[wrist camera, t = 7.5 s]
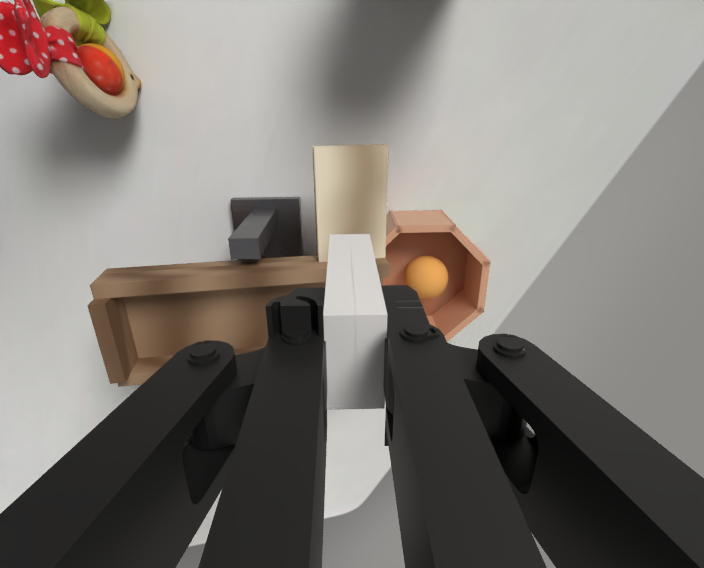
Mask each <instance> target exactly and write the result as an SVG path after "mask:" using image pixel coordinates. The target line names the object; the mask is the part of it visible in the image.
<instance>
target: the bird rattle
mask: <svg viewBox="0 0 704 568" xmlns="http://www.w3.org/2000/svg"><path fill="white" fill-rule="evenodd" d="M14 1H15V4H14V5H13V4H11V3H10V2H8V1H6V0H3V1H2V2H0V67H1V68H2V69H3V70H4V71H5V72H7V73H8V74H16V75H26V74H28V73H30V72H32V71H34V73H35V74H36V75H37V76H38V77H40V78H45V77H47V76H48V74H49V73H51V74H54V76H55V77H56V78H57V80H58V81H59V82H60V83H61V85H62V86H63V87H64V88H65V89H66V90H67V92H68V93H69V94H70V95H71V96H73V97H74V98H75V99H76V100H77V101H78V102H79V103H81V104H82V105H83V106H84V107H86V108H87V109H89V110H90V111H92V112H94V113H96V114H97V115H100V116H102V117H105V118H110V119H117V118H121V117H124V116H126V115H128V114H130V113H131V112H132V111H133V109H134V108H135V106H136V104H137V99H138V89H139V88H140V87H141V82H140V80H139V79H138V77H137V76H136V75H135V74H134V73H133V71H132V69H131V68H130V66H129V64H128V62H127V60H126V59H125V57H124V55H123V54H122V52H121V51H120V50H119V48H118V47H117V46H116V44H115V43H114V42H113V40H112V39H111V38H110V37H109V36H108V34H107V33H106V32H105V31H104V29H103V27H102V26H101V25H105V24H107V23H109V21H110V18H111V11H110V8H109V7H108V5H107V4H106V3H105V1H104V0H65V4H63V3H58V2H55V1H52V0H33V2H34V5H35V8H36V10H37V12H38V15H39V17H40V20H39V19H38V17H37V15H36V13H35V10H34V8H33V6H32V4H31V2H30V0H14Z"/></svg>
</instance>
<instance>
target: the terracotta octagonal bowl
mask: <svg viewBox="0 0 704 568" xmlns="http://www.w3.org/2000/svg"><path fill="white" fill-rule="evenodd" d="M420 256H433V257H435V258H437V259H439V260H440V261H441V262H442V263H443V264H444V265H445V267H446V269H447V272H448V283H447V286H446V288H445V290H444V291H443V292H442V293H441V294H440V295H439V296H437V297H435V298H432V299H420V301H421V303H422V306H423V308H424V311H425V313H426V316H427V318H428V321H429V323H430V325H433V326H435V327H436V328H438V329H440V331H441V332H442V333H443V334H444V336H445V339H446V341H449V340H450V339H451V338H452V337H453V336H455V335H456V334H457V333H458V332H460V331H461V330H462V329H463V328H464V327H466V326H467V325H468V324H469V323H471V322H472V321H473V320H474V319H475V318H477V317H478V316H479V315H480V314H481V313H483V312H484V306H485V298H486V291H487V283H488V275H489V267H490V261H489V260H488V258H487V257H486V256H485V255H484V254H483V253H482V252H481V251H480V250H479V249H478V248H477V247H476V246H475V245H474V244H473V243H472V242H471V241H470V240H469V239H468V238H467V237H466V236H465V235H464V234H463V233H462V232H461V231H460V230H459V229H458V228H457V227H456V225H455V224H454V222H453V221H452V220H451V219H450V218H449V217H448V216H447V215H446V214H445V213H444V212H443V211H442V210H427V211H390V212H389V213H388V214H387V215H386V255H385V258H386V259H387V261H388V262H389V263H390V277H384V278H383V285H405V283H404V272H405V269H406V267H407V265H408V264H409V263H410V262H411V261H412V260H413V259H415V258H417V257H420Z"/></svg>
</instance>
